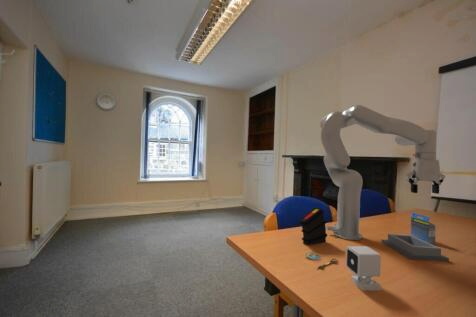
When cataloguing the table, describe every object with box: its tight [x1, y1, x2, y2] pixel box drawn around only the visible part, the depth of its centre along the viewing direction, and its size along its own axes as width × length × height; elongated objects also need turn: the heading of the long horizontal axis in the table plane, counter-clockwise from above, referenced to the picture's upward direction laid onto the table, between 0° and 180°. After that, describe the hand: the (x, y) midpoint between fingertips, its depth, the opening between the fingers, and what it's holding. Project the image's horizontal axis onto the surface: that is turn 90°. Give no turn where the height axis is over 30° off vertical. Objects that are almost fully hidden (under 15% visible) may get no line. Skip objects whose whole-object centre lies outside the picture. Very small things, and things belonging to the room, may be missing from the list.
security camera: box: [345, 245, 382, 292], centre depth 63 cm, size 6×7×10 cm
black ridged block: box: [298, 206, 328, 247], centre depth 95 cm, size 4×13×15 cm, turn 118°
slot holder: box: [381, 233, 450, 262], centre depth 90 cm, size 14×17×4 cm
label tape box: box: [410, 211, 436, 245], centre depth 103 cm, size 9×4×12 cm, turn 9°
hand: (424, 193), depth 103 cm, fingers open, 9 cm apart
